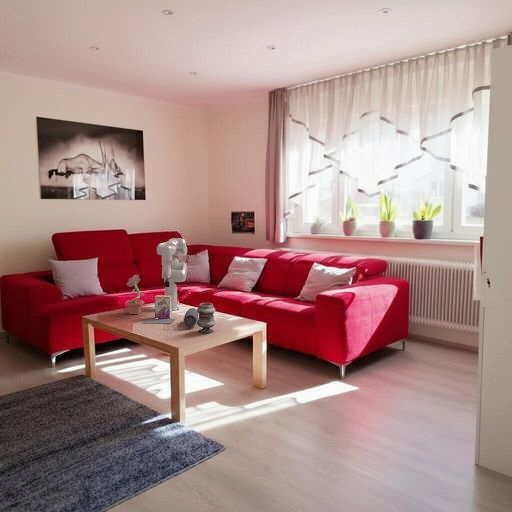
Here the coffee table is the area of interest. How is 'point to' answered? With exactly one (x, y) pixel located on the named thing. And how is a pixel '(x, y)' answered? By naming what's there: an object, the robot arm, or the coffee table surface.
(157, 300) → the candy bar box
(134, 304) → the decorative flower
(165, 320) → the mat
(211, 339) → the coffee table surface
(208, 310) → the apothecary jar
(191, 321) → the bluetooth speaker
